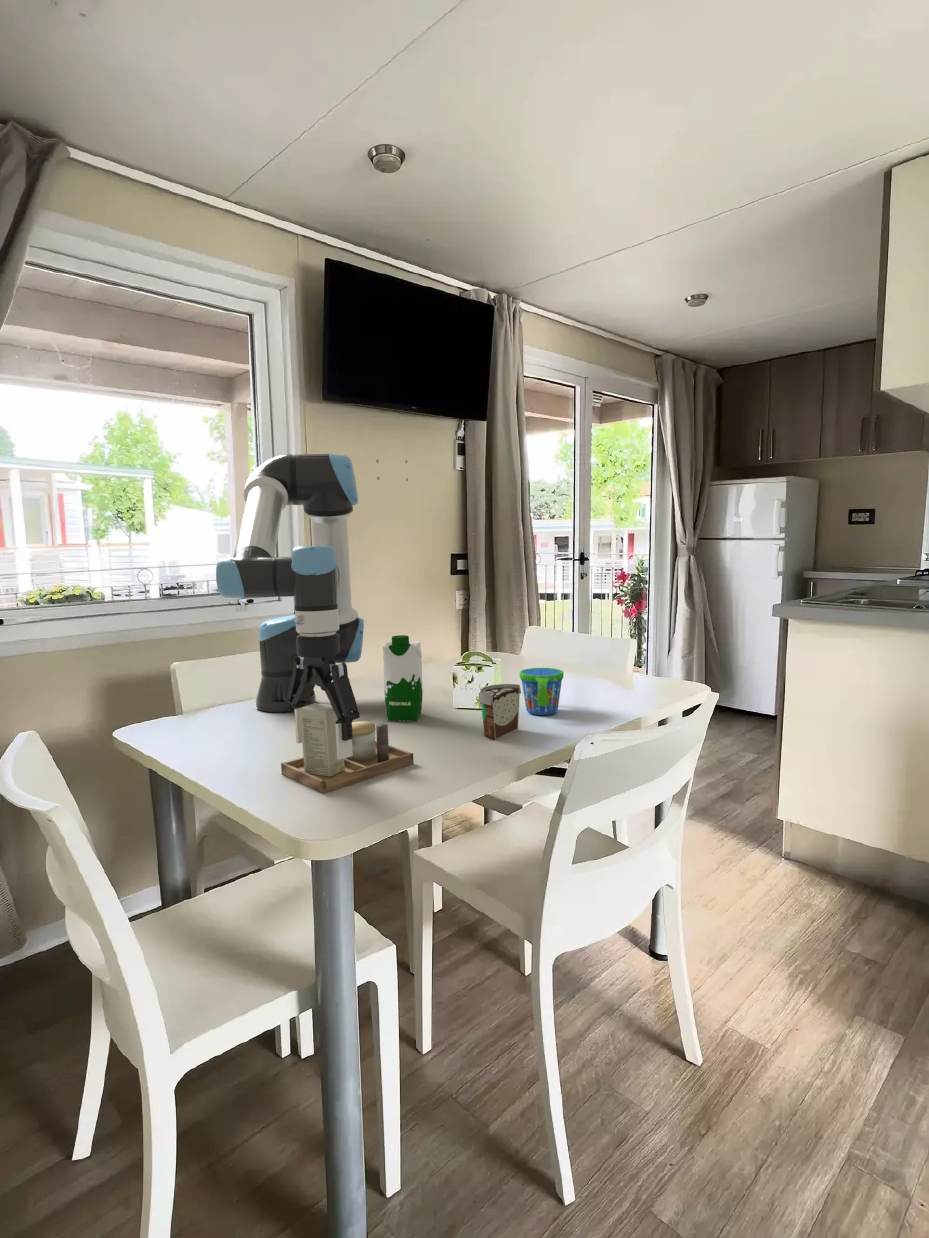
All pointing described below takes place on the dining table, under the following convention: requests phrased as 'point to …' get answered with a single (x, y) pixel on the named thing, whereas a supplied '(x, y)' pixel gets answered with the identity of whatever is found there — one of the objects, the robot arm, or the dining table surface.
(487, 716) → the food container
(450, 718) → the dining table surface
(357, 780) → the organizer
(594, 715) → the dining table surface
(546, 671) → the snack cup
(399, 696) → the milk carton
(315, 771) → the skincare box
